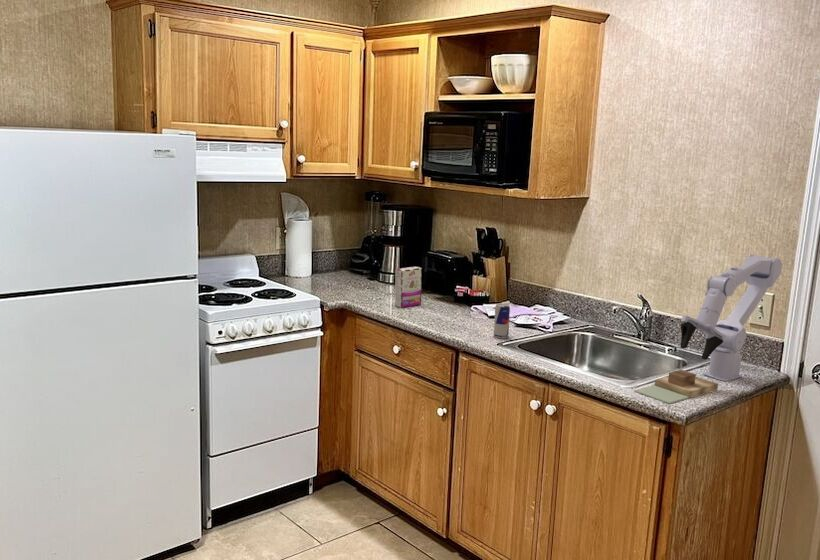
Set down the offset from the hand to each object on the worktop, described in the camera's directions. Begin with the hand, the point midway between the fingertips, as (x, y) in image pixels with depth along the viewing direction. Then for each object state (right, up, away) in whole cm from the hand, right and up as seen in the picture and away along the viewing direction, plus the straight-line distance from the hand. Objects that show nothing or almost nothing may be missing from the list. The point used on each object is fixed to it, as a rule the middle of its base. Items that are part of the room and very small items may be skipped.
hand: (693, 353), depth 224 cm
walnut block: (-4, -9, -1) cm, 10 cm away
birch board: (-2, -10, +1) cm, 11 cm away
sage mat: (-12, -11, -6) cm, 18 cm away
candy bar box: (-86, +11, +97) cm, 130 cm away
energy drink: (-52, +1, +51) cm, 73 cm away
